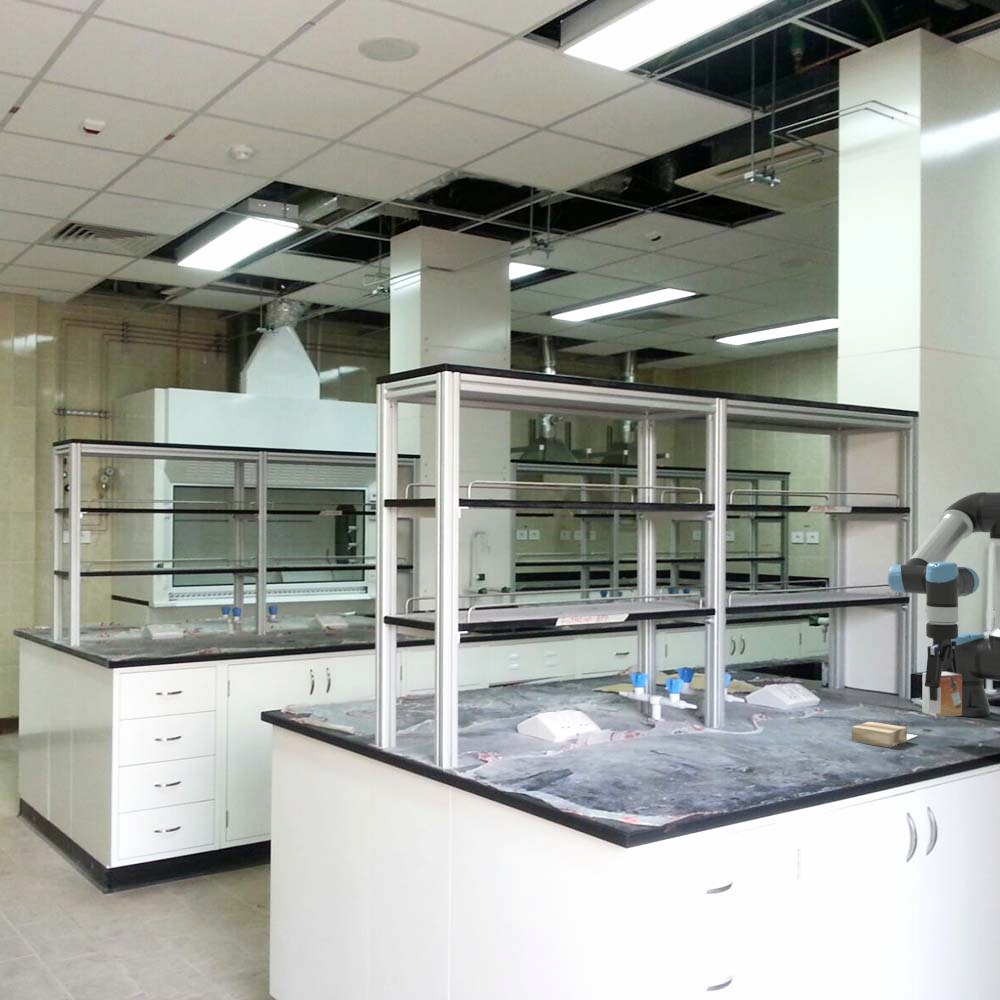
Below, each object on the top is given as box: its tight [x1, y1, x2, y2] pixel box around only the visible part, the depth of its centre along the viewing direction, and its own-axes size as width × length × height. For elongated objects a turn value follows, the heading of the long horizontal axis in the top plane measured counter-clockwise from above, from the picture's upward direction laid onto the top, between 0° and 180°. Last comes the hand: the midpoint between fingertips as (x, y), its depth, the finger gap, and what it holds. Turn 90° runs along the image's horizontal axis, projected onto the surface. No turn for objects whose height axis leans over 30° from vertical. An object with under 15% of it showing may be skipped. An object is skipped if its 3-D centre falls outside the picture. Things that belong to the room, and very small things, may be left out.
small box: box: [921, 671, 962, 718], centre depth 269 cm, size 8×6×10 cm
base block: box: [851, 721, 908, 749], centre depth 269 cm, size 10×10×4 cm
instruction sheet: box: [907, 733, 919, 741], centre depth 276 cm, size 7×10×1 cm
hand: (942, 709), depth 269 cm, fingers closed on small box, 9 cm apart
